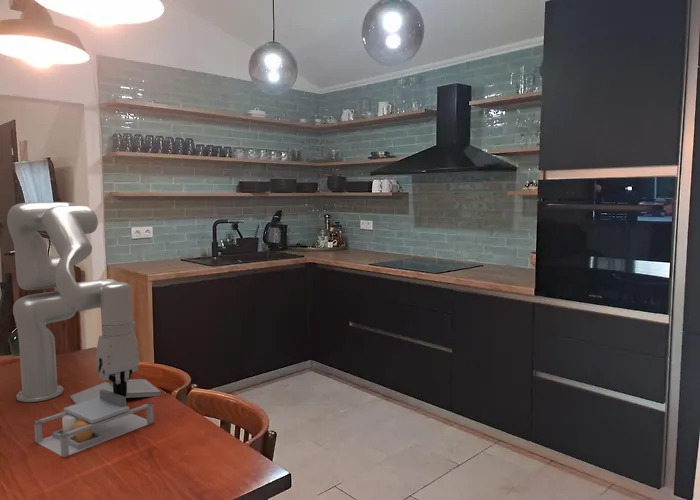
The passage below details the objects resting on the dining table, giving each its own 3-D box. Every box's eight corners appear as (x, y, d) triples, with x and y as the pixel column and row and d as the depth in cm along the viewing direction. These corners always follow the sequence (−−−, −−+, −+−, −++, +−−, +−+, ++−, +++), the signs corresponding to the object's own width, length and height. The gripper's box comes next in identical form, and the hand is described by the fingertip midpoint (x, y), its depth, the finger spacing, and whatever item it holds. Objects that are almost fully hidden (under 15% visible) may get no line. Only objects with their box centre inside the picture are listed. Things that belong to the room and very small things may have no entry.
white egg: (60, 436, 137) (59, 417, 137) (75, 431, 140) (74, 412, 140) (67, 440, 135) (66, 420, 135) (82, 434, 138) (81, 415, 138)
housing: (35, 444, 134) (33, 421, 134) (124, 413, 154) (123, 392, 153) (64, 460, 126) (62, 435, 126) (153, 425, 146) (152, 403, 145)
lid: (64, 411, 140) (63, 398, 139) (101, 399, 148) (100, 387, 147) (92, 423, 132) (91, 410, 131) (129, 410, 140) (128, 398, 140)
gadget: (81, 415, 154) (80, 403, 154) (69, 400, 166) (69, 388, 165) (161, 396, 168) (161, 385, 168) (145, 383, 180) (145, 373, 179)
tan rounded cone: (73, 441, 134) (71, 422, 133) (88, 436, 137) (87, 417, 136) (79, 446, 132) (78, 427, 131) (95, 440, 134) (94, 421, 134)
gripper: (134, 322, 151) (136, 385, 153) (82, 333, 139) (85, 402, 141) (150, 325, 147) (153, 390, 149) (98, 337, 135) (101, 408, 137)
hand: (120, 396), depth 145 cm, fingers closed
